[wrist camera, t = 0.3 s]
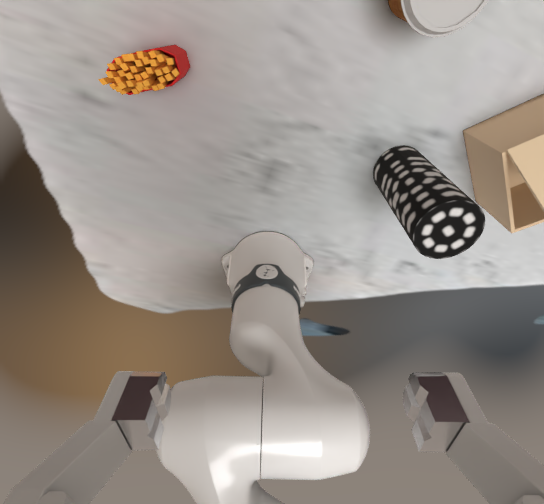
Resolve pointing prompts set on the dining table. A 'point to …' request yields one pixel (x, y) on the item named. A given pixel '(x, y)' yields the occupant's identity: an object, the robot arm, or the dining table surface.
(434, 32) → the disposable coffee cup
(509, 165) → the carton
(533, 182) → the carton flap
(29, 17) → the dining table surface
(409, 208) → the white-spotted black cylinder
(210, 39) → the dining table surface
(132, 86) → the french fries
